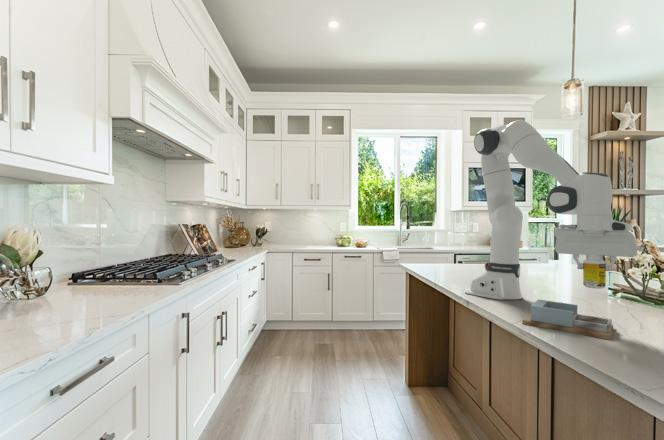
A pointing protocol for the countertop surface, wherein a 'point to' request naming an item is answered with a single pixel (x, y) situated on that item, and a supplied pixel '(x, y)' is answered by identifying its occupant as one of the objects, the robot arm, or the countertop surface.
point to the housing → (553, 312)
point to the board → (580, 326)
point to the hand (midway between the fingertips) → (594, 270)
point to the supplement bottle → (594, 272)
